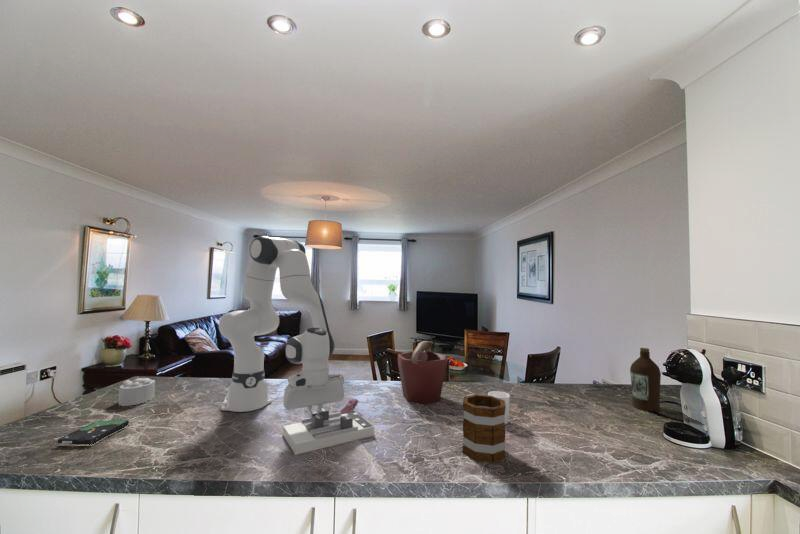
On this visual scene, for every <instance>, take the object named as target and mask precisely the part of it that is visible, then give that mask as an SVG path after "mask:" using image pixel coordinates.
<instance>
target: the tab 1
mask: <svg viewBox="0 0 800 534" xmlns="http://www.w3.org/2000/svg"><path fill="white" fill-rule="evenodd" d="M329 414H330V410H329V409H328V408H326V407H323V408H322V409H321V411H320V413H319V415H322V416H323V417H324V420H329Z"/></svg>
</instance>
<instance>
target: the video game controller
mask: <svg viewBox="0 0 800 534" xmlns="http://www.w3.org/2000/svg"><path fill="white" fill-rule="evenodd" d="M358 402H359V400H358V399H356V398H351V399H349V400H348V401H347V403H346V404H345V406H344V407H343V408H342V409H340V410H339V411H338V412H341V414H346V413H351V412H355V408H356V407H357V406H358V404H359V403H358Z"/></svg>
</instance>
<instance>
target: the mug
mask: <svg viewBox="0 0 800 534" xmlns="http://www.w3.org/2000/svg"><path fill="white" fill-rule="evenodd" d="M462 406H463V407H462V408H463V421H462V435H463V440H462V441H463V444H462V445H463V446H462V454H463V455H464V456H467V457H468V458H469V459H471V460H472V461H475V462H481V463H488V462H489V464H495V463H498V462H501V461H503V460H505V459H506V450H505V448H506V445H505V444H506V443H505V442H506V424H505V408H506V406H505V401H504V400H501V399H499V398H496V397H493V396H488V394H487V395H485V394H474V393H470V394H467V395H465V396H463V400H462Z"/></svg>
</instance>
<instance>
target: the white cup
mask: <svg viewBox="0 0 800 534" xmlns="http://www.w3.org/2000/svg"><path fill="white" fill-rule="evenodd" d="M487 396H493V397H496V398H499V399H501V400H504V401H505V406H506V408H505V425H508V424H509V415H510V401H511V400H510V399H511V396H510V393H507V392H504V391H500V390H499V391H498V390H492V391H491V390H490V391H489V392H487Z"/></svg>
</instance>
